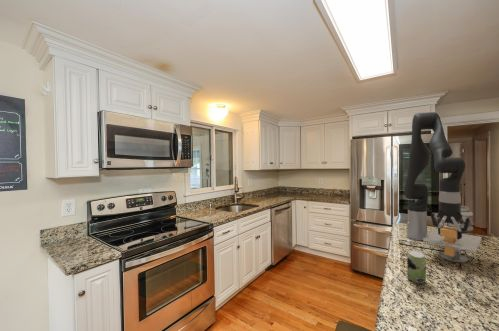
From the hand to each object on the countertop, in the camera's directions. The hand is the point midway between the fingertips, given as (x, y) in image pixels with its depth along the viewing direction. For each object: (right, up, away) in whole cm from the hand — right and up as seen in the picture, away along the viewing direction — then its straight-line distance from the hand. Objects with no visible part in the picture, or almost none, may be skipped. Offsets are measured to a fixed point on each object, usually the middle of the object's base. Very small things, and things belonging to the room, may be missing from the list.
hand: (449, 237), depth 104 cm
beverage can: (-25, -14, -13) cm, 31 cm away
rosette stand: (+4, -12, +4) cm, 13 cm away
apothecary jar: (+36, -10, +34) cm, 51 cm away
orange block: (0, -8, 0) cm, 8 cm away
